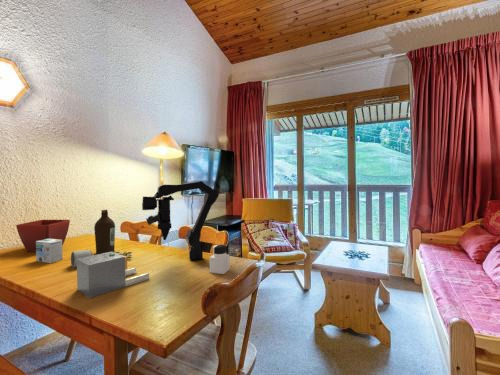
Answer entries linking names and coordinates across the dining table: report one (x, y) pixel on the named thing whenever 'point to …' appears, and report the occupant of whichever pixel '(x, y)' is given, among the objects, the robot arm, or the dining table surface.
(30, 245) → the plant pot
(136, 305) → the dining table surface
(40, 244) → the light bulb box
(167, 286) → the dining table surface
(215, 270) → the medicine bottle
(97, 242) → the olive oil
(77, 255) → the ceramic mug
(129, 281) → the box
